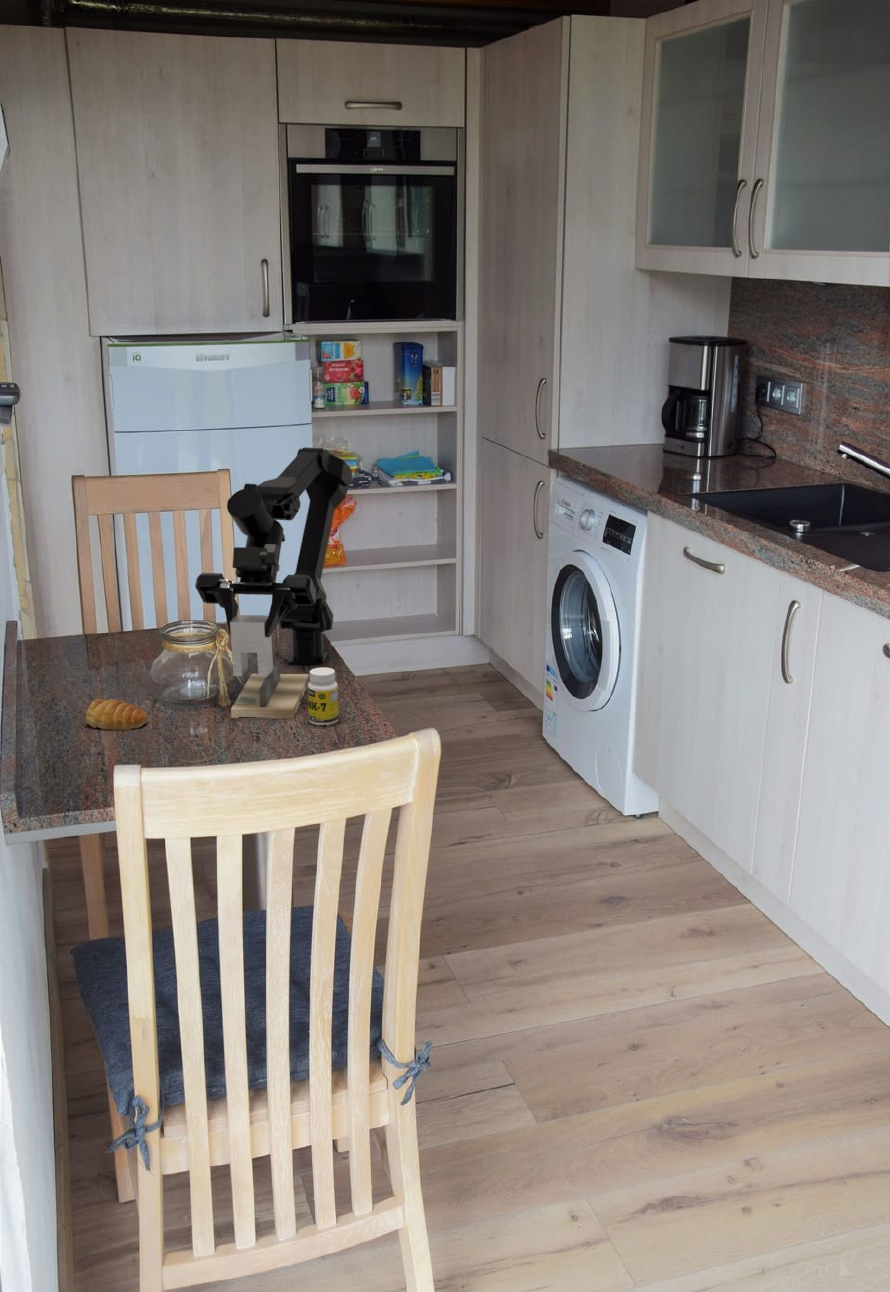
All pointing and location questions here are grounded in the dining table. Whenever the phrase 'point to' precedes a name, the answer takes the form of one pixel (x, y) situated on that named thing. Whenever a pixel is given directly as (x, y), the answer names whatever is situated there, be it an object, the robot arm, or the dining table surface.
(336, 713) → the supplement bottle
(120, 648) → the dining table surface
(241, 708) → the rack
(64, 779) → the dining table surface
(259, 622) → the clip
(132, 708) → the pastry
